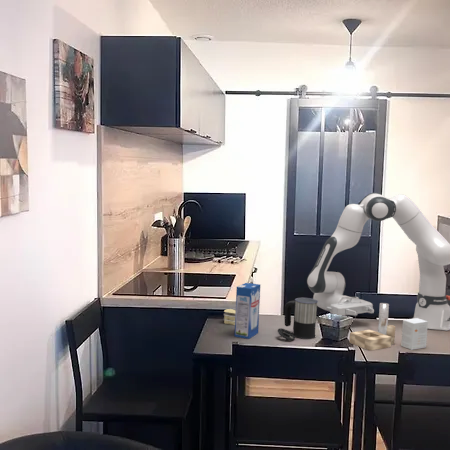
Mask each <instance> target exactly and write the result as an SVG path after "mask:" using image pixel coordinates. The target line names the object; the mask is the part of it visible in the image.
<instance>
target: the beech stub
mask: <svg viewBox="0 0 450 450" xmlns="http://www.w3.org/2000/svg"><path fill="white" fill-rule="evenodd" d="M386 335H387V336H390V337H391V346H392V345H395V342H396V341H395V340H396V339H395V337H396V325H393V324H388V325H387V333H386Z"/></svg>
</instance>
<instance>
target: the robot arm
mask: <svg viewBox="0 0 450 450" xmlns="http://www.w3.org/2000/svg"><path fill="white" fill-rule="evenodd" d="M391 218H392V219H394V221H395V222H396V223H397V225H398V226H399V227H400V229H401V230H402V231H403V233H404V234H405V236H406V237H407V238H408V239H410V241H411V242H412V243H413V244H414V245H415V251H416V254H417V259H418V260H417V261H418V269H419V285H418V286H419V288H418V292H417V295H416V297H417V299H416V300H417V302H416V304H415V308H414V314H413V317H412V318H411V319H414V318H419V319H422V320H425V321H428V327H427V330H428V329H429V330H437V331H450V305H449V303H448V301H450V295H447V294H446V288H447V276H446V273H445V269H444V268H445V266H448V265H450V242H449V241H448V240H447V239H446V238H445V237H444V236H443V235H442V234H441V233H440V232H439V231H438V230H437V229H436V227H434V226H433V225H432V223H431V222H430V221H429V220H428V219H427V217H426V216H425V215H424V213H423V212H422V210H421V209H420V208H419V207H418V206H417V205H416V204H415V202H414V201H412V199H410V198H409V197H408V196H407V195H406V194H402V193H399V194H395V195H394V196H393V197H391V198H387V197H386V196H384V195H383V194H380V193H378V192H371V193H368V194H366V195H365V196H364V197H363V198H362V199H361V200H360V201H359V202H358V203H350V204H348V205H346V206H345V207H344V209H343V211H342V213H341V215H340V217H339V219H338V223H337V225H336V228H335V230H334V232H333V233H332V235H331V236H330V237H329V238H328V239H326V241H325V243H324V244H323V246H322V249H321V250H320V253H319V255H318V258H317V259H316V262H315V264H314V266H313V268H312V269H311V271H310V272H309V273H308V276H307V278H306V284H307V287H308V288H309V291H311V292H312V293H313V297H312V299H315V300H317V301H318V303H317V308H320V309H322V310H324V311H327V312H330V313H331V314H332V315H335V314H337V315H342V316H341V317H345V316H358V314H364V313H368V314H374V312H375V309H374V307H373V306H374V305H373V303H372V302H370V301H367V300H364V299H362V298H361V299H360V298H359V297H358V296H348V295H344V292H345V288H346V279H345V276H344V275H343V274H342V272H339V271H337V272H336V271H328V269H329V267H330V265H331V263H332V261H333V258H334V257H335V256H336V255H337V254H338V253H341V252H343V251H345V250H348V249H351V248H353V247H355V246H356V245H358V243H359V241H360V239H361V237H362V233H363V230H364V226H365V224H366V223H367V221H369V220H372V221H375V222H383V221H386V220H388V219H391ZM337 315H336V316H337Z"/></svg>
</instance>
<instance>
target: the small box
mask: <svg viewBox="0 0 450 450" xmlns="http://www.w3.org/2000/svg"><path fill="white" fill-rule="evenodd" d="M413 318H414V317H413ZM427 327H428V321H425V320H422V319H419V318H414V319H412V318H409V319H408V318H407V319H403V320H402V327H401V328H402V330H401V343H400V345H401V347H403V348H406V349H408V350H410V351H414V350H417V349H425V348H427V342H428V341H427V340H428V339H427V338H428V328H427Z"/></svg>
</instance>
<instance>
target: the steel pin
mask: <svg viewBox="0 0 450 450" xmlns="http://www.w3.org/2000/svg"><path fill="white" fill-rule="evenodd" d="M389 306H390V303H387V302H380V303H379V311H378V312H379V313H378V323H377V324H378V325H377V332H379V333H382V334H384V335H386V333H387V325H389V324H388V323H389V313H390V312H389V309H390V307H389Z"/></svg>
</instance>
